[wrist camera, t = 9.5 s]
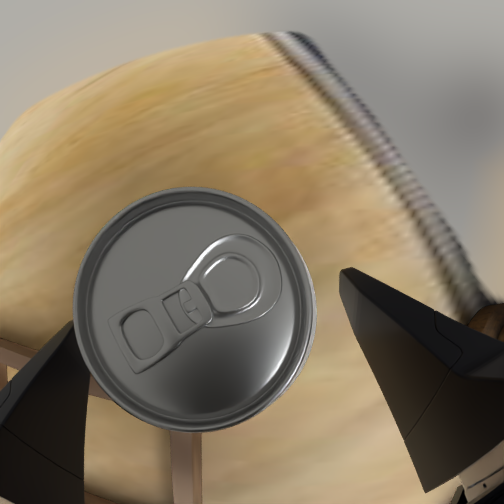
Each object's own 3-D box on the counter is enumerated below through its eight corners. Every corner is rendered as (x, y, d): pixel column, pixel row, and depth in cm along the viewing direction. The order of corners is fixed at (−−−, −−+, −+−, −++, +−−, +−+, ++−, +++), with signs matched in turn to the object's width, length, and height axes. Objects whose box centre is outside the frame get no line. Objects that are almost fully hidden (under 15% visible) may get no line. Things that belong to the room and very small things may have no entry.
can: (304, 333, 17) (386, 352, 6) (214, 387, 17) (144, 483, 5) (248, 246, 19) (232, 127, 7) (161, 299, 18) (32, 259, 6)
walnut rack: (207, 584, 12) (202, 603, 9) (34, 524, 12) (20, 534, 9) (202, 383, 17) (191, 394, 14) (-2, 336, 17) (-25, 335, 14)
